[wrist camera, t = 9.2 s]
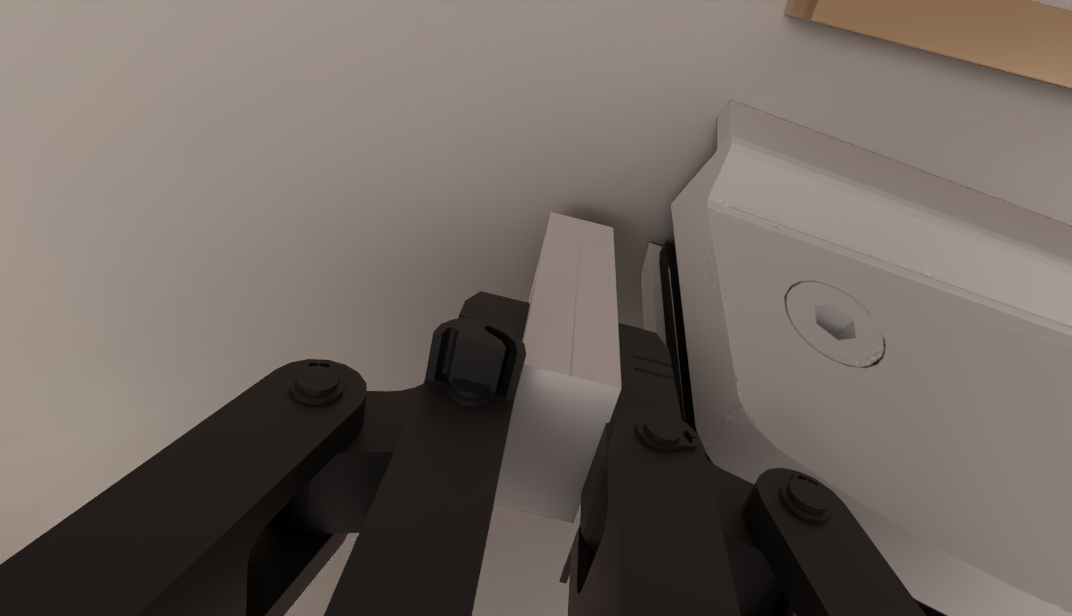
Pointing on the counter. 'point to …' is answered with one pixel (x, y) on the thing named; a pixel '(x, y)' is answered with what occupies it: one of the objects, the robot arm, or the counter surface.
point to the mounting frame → (961, 30)
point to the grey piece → (880, 355)
